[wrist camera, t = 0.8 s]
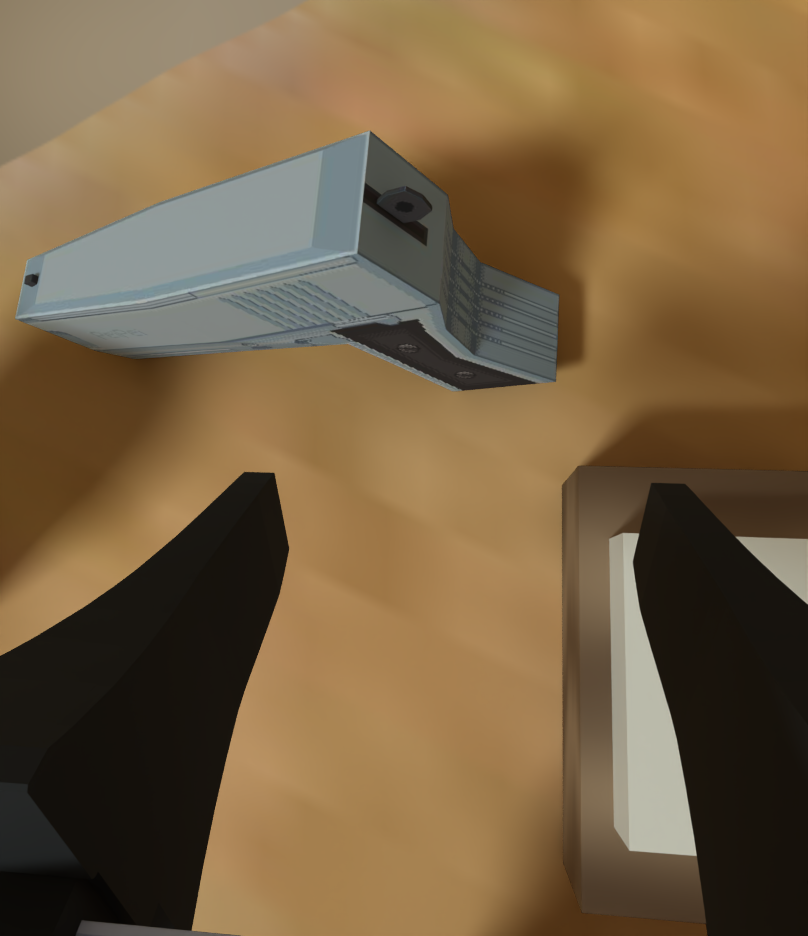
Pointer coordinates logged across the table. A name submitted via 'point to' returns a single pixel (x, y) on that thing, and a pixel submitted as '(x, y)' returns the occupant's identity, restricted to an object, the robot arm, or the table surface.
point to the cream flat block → (660, 704)
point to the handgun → (300, 275)
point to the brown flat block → (589, 670)
